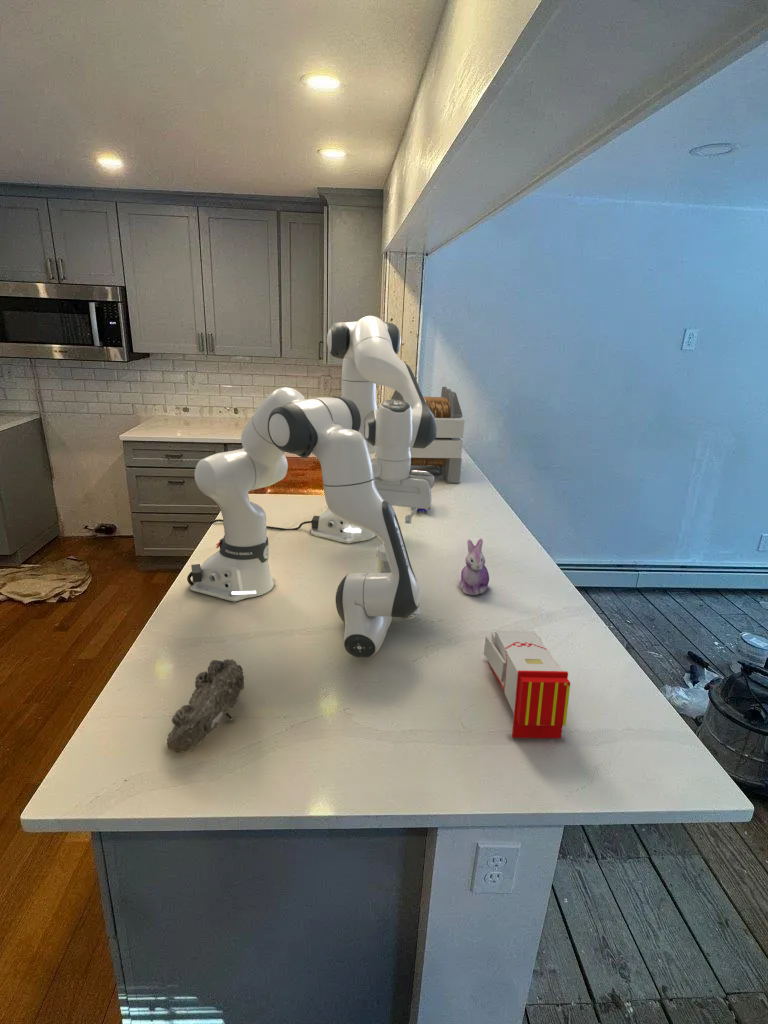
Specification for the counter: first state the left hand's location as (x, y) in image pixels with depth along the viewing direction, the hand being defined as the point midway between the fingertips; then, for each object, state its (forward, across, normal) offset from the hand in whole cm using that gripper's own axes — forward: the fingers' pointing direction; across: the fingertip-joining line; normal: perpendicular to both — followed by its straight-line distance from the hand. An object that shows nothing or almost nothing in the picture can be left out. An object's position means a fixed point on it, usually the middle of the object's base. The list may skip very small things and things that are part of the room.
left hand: (386, 586), depth 150 cm
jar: (0, 0, +6) cm, 6 cm away
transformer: (+131, +10, +6) cm, 132 cm away
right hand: (0, 0, -19) cm, 19 cm away
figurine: (+16, -23, +5) cm, 28 cm away
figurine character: (+79, +2, +6) cm, 79 cm away
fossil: (-52, +23, +5) cm, 57 cm away
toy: (-29, -34, +5) cm, 45 cm away
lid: (0, 0, -11) cm, 11 cm away
